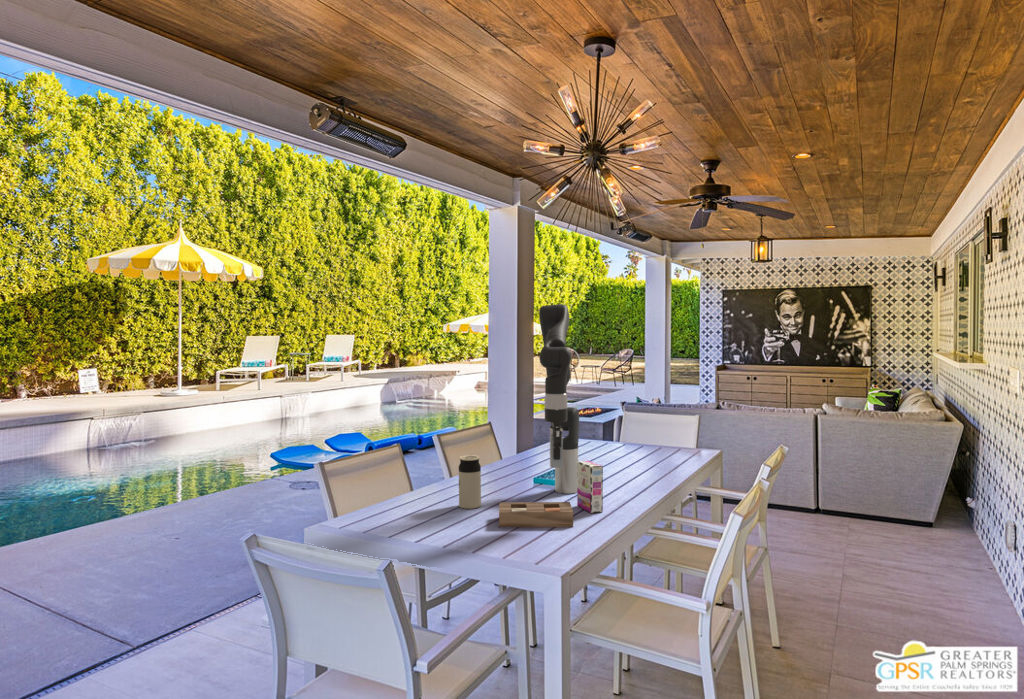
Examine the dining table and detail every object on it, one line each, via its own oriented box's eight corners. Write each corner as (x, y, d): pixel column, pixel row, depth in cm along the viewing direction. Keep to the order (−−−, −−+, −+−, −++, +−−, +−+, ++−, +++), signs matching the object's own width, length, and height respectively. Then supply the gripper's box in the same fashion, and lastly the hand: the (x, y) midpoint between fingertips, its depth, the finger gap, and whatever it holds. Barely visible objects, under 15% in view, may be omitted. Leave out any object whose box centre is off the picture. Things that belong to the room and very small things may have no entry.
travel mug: (483, 504, 242) (483, 455, 241) (476, 510, 234) (476, 459, 234) (463, 502, 244) (462, 454, 243) (455, 508, 236) (455, 458, 236)
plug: (549, 465, 221) (549, 435, 221) (561, 464, 221) (561, 435, 221) (550, 467, 217) (550, 437, 217) (562, 467, 217) (562, 437, 217)
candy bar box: (603, 512, 230) (603, 465, 229) (591, 513, 228) (590, 466, 228) (589, 504, 240) (588, 459, 240) (576, 505, 238) (576, 460, 238)
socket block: (499, 517, 225) (499, 501, 225) (569, 516, 225) (569, 500, 225) (499, 527, 213) (499, 511, 213) (573, 526, 213) (573, 510, 213)
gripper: (543, 404, 226) (543, 454, 226) (546, 409, 212) (546, 462, 212) (564, 404, 226) (565, 454, 226) (569, 409, 212) (569, 462, 212)
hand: (556, 457), depth 219 cm, fingers closed on plug, 4 cm apart
